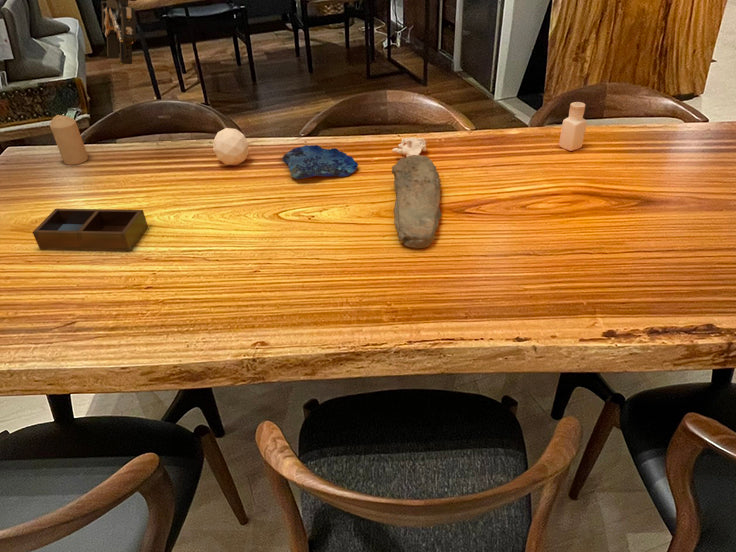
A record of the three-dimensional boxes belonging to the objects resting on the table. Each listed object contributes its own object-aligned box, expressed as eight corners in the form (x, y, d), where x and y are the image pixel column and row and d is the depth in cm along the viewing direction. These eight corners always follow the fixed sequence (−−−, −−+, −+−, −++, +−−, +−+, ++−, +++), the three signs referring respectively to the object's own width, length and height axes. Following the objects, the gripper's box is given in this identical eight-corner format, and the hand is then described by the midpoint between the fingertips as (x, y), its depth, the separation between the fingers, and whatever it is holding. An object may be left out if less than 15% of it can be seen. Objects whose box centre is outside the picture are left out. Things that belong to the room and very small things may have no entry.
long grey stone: (387, 256, 111) (442, 259, 111) (388, 231, 108) (445, 233, 108) (392, 164, 136) (437, 166, 136) (393, 141, 132) (440, 143, 132)
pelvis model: (402, 130, 142) (430, 131, 140) (404, 148, 145) (431, 149, 143) (390, 143, 137) (419, 144, 134) (392, 162, 139) (420, 163, 137)
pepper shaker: (569, 142, 144) (577, 99, 137) (582, 147, 141) (591, 104, 135) (557, 146, 142) (564, 103, 136) (570, 152, 140) (578, 108, 133)
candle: (93, 157, 146) (78, 113, 139) (76, 166, 142) (60, 122, 135) (76, 153, 147) (60, 110, 141) (58, 162, 144) (41, 119, 137)
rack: (39, 249, 115) (32, 232, 112) (62, 225, 121) (55, 208, 119) (130, 251, 113) (124, 233, 111) (148, 226, 120) (143, 209, 117)
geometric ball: (242, 177, 142) (243, 157, 134) (208, 164, 140) (207, 144, 133) (253, 149, 144) (254, 128, 136) (219, 136, 142) (218, 115, 135)
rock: (295, 185, 131) (295, 176, 129) (277, 156, 143) (276, 147, 142) (361, 174, 134) (361, 166, 133) (338, 147, 146) (337, 138, 145)
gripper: (86, -35, 126) (91, 54, 134) (108, -32, 117) (111, 63, 125) (124, -27, 131) (126, 58, 138) (148, -24, 121) (149, 67, 129)
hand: (119, 60), depth 131 cm, fingers open, 8 cm apart
